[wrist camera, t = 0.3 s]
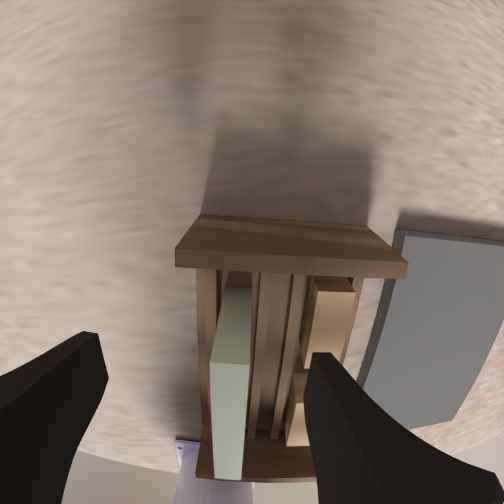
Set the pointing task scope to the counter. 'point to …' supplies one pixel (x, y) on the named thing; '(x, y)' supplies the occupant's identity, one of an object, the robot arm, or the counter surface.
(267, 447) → the rack
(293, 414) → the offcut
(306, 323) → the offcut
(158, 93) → the counter surface
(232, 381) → the pale green rectangular block
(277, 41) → the counter surface
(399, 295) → the mat
